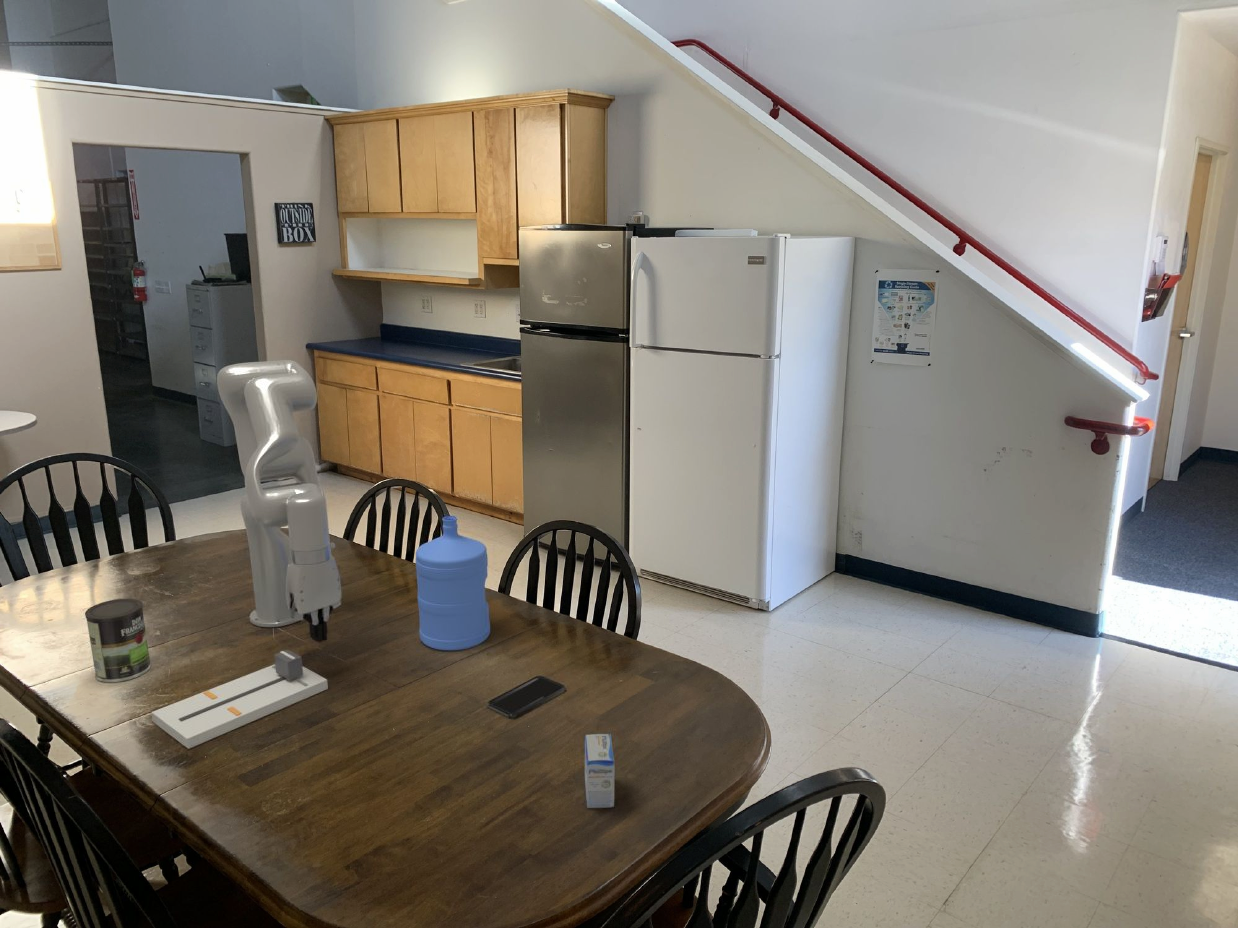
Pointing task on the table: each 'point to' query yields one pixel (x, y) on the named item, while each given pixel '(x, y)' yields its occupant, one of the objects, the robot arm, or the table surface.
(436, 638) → the water jug
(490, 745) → the table surface
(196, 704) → the fader board
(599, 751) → the medicine box
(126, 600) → the coffee can
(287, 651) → the fader knob
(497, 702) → the phone
